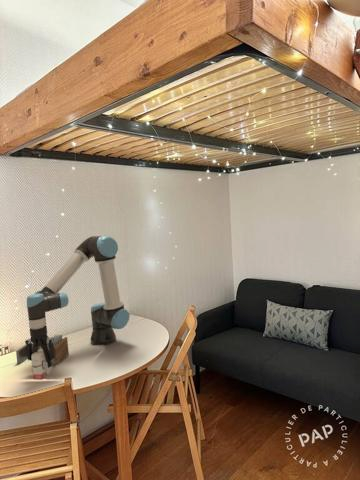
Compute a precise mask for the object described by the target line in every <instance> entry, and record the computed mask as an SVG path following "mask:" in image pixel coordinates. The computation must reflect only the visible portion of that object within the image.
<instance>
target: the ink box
mask: <svg viewBox="0 0 360 480" xmlns="http://www.w3.org/2000/svg"><path fill="white" fill-rule="evenodd" d="M48 350H49V349H48ZM31 358H32V361H31V367H32V377H33V379H44V377H45V376H47V375H46V365H45V362H46V361H47V360H46V357H45V355H44V352H43V349H40V350H38V351H37V352H35V353H34V354H32V356H31ZM52 366H53V365H52ZM52 366H51V367H50V368H51V372H52V371H53V367H52Z"/></svg>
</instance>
